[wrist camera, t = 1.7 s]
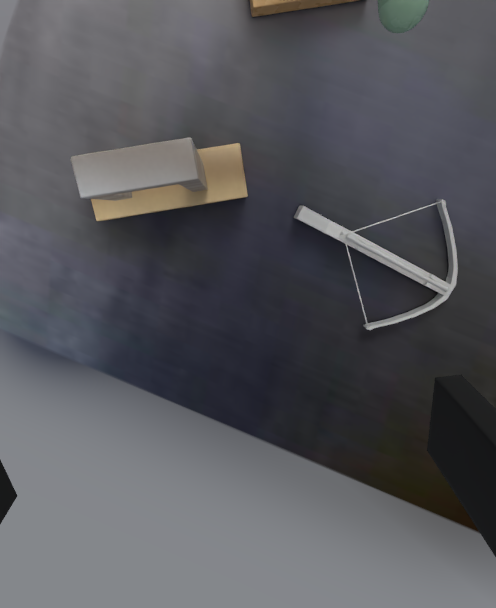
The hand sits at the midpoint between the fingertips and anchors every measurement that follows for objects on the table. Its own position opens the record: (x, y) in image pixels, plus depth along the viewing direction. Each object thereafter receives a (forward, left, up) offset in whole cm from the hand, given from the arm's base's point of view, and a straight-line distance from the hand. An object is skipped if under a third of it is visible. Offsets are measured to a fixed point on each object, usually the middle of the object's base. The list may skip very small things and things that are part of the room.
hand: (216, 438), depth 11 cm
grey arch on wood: (-4, -9, -23) cm, 25 cm away
